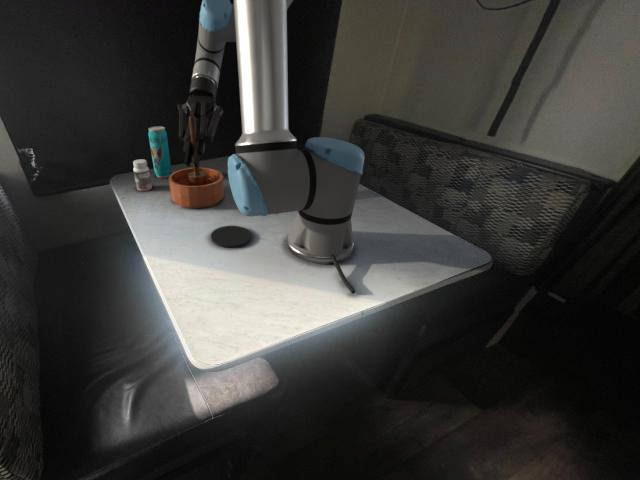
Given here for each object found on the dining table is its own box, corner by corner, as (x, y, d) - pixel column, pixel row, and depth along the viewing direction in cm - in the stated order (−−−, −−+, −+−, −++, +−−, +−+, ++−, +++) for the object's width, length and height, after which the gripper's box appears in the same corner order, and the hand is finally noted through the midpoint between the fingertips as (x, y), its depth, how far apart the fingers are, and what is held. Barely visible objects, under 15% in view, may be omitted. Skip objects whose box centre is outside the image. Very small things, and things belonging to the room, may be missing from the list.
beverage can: (152, 177, 113) (144, 129, 104) (160, 172, 118) (152, 125, 108) (167, 179, 112) (160, 131, 102) (174, 173, 116) (168, 126, 107)
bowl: (222, 209, 94) (221, 187, 90) (167, 209, 95) (164, 186, 91) (225, 188, 106) (224, 167, 102) (176, 188, 107) (173, 167, 102)
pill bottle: (136, 186, 108) (130, 159, 102) (150, 184, 109) (146, 157, 103) (138, 191, 104) (132, 164, 99) (153, 189, 106) (148, 162, 100)
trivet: (251, 248, 79) (251, 246, 78) (209, 247, 79) (209, 245, 78) (251, 227, 86) (251, 225, 86) (212, 227, 86) (212, 225, 86)
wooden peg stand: (205, 186, 98) (200, 119, 87) (188, 186, 98) (180, 119, 87) (207, 180, 102) (202, 114, 91) (190, 180, 102) (183, 114, 91)
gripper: (232, 95, 97) (219, 172, 95) (183, 93, 99) (171, 169, 98) (227, 75, 90) (214, 159, 88) (175, 74, 92) (161, 155, 90)
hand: (191, 164), depth 93 cm, fingers closed on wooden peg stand, 2 cm apart
